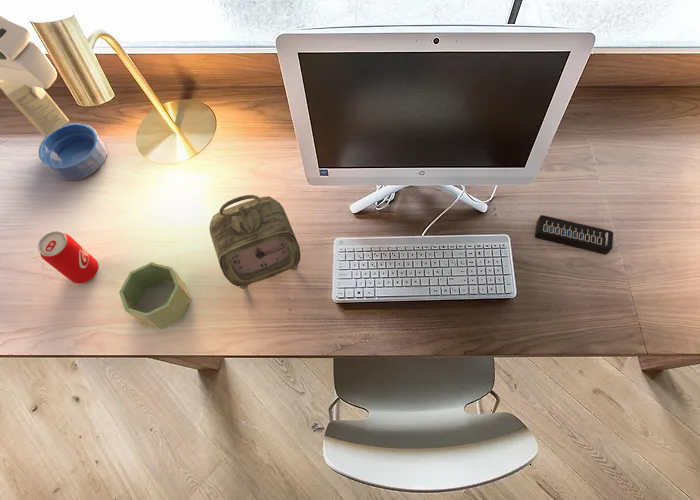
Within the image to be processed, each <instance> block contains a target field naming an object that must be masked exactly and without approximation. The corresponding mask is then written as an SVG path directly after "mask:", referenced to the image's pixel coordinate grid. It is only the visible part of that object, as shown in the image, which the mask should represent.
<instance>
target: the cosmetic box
mask: <svg viewBox="0 0 700 500" xmlns="http://www.w3.org/2000/svg"><path fill="white" fill-rule="evenodd" d="M42 89H43V91H44V92H45V96H44V97H43V98H42V99H37V98H34V97H33V95H31V93H30V91H31V90H32V88H31V87H28V86H27V85H25V84H20V83H15V82H10V81H4V82H2V83H1V84H0V90H1V91H2V93H3V94H4V96H6V97H7V98H8V99H9V100H10V101H11V103H13V105H14V106H15V107H16V108H17V109H18V110H19V112H21V113H22V114H23V116H24V117H25V118H26V119H27V120H28V121H29V122H30V123H31V125H33V126H34V128H35V129H36V130H37V131H38V132H39V133H40V134H41V135H42V136H43V137H44V138H45V137H46V136H48V135H49V134H51V133H52V132H54V131H55V130H57V129H58V128H60V127H61V126H63V125H67V124H68V123H69V122H70V120H69V119H68V117H67V116H66V115H65V113H64V112H63V111H62V109H60V108H59V106H58V105H57V104H56V102H55V101H54V100H53V99H52V98H51V96H50V95H49V94H48V93H47V91H46V89H44V88H42Z"/></svg>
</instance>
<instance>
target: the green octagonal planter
mask: <svg viewBox="0 0 700 500" xmlns="http://www.w3.org/2000/svg"><path fill="white" fill-rule="evenodd" d="M164 281H166V282H169V283H174V285H175V286H174V289H173V291H172V292H171V295H170V297H169V299H168V301H167V302H166V304H164V305H162V306H159V307H158V308H155V309H153V310H151V311H149V312H147V313H146V312H143V311H141V310H140V308H139V304H140V302H141V300H142V299H143V297H144V295H145V293H146V291H147V289H149V288H151V287H153V286H156V285H158V284H160V283H162V282H164ZM118 293H119V297H120V300H121V302H122V305H123V308H124V310H125V312H126V313H127V314H128V315H130V316H131V317H132V318H134V319H135V320H136V321H137V322H138V323H139V324H141V325H143V326H147V327H150V328H154V329H158V330H163V329H165V328H168V327H169V326H171V325H173V324H175V323H177V322H179V321H181V320H183V317H184V316H185V313H186V312H187V310H188V307H189V305H190V303H191V300H192V298H191V296H190V293H189V291H188V289H187V286H186V284H185V282H184V280H183V279H182V278H181V277H180V275H179V274H178V273H177V272H176V271H175V269H174V268H173V267H172V266H169V265H164V264H161V263H156V262H153V261H151V262H149V263H147V264H144V265H142V266H140V267H138V268H135V269H133V270H131V271H130V272H129V273H128V275H127V277H126V278H125V280H124V281H123V284H122V286H121V288H120V289H119V291H118Z"/></svg>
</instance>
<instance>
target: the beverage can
mask: <svg viewBox="0 0 700 500" xmlns="http://www.w3.org/2000/svg"><path fill="white" fill-rule="evenodd" d="M37 250H38V252H39V255H40V257H41V259H42V260H43V261H44V262H46V263H47V264H48V265H50V266H51V267H52V268H53V269H55V270H56V271H57V272H59V273H60V274H62V275H63V277H64V278H65V277H66V278H67V280H70V282H72V283H73V284H76V285H77V284H78V285H79V284H86V283H88V282H90V281H91V280H93V278H95V277H96V276H97V273H98V271H99V266H100V265H99V261H98V260H97V259H96V258H95V257H94V256H92V254H90V252H88V250H86V249H85V248H84V247H83V246H82V245H81V244H80V243H79V242H77V240H75V239H74V238H73V237H72V236H71V235H69V234H67V233H64V232H61V231H51V232H48V233H46V234H45V235H44V236H42V238H41V239H40V240H39V242H38V244H37Z"/></svg>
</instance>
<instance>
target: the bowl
mask: <svg viewBox="0 0 700 500" xmlns="http://www.w3.org/2000/svg"><path fill="white" fill-rule="evenodd" d="M107 154H108V150H107V145H106V144H105V142H104V140H102V138H101V137H100V135H99V134H98V132H97V131H96V130H95V128H93V127H92V126H90V125H89V124H86V123H83V122H82V123H81V122H73V123H66V124H64V125H63V126H61V127H60V128H58V129H57V130H55V131H54V132H52V133H51V134H49V135H48V136H46V137H44V138H43V140H42V141H41V142H40V144H39V148H38V158H39V160H40V161H41V163H42V164H43V165H44V167H46V168H47V170H48V171H50V173H51V174H52V175H53V176H54V177H57V178H58V179H60V180H64V181H76V180H81V179H84V178H87V177H89V176H90V175H92V174H94V173H95V172H96V171H97V170H98V169H99V168H100V167H102V166H103V164H104V162H105V160H106V158H107Z"/></svg>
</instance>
